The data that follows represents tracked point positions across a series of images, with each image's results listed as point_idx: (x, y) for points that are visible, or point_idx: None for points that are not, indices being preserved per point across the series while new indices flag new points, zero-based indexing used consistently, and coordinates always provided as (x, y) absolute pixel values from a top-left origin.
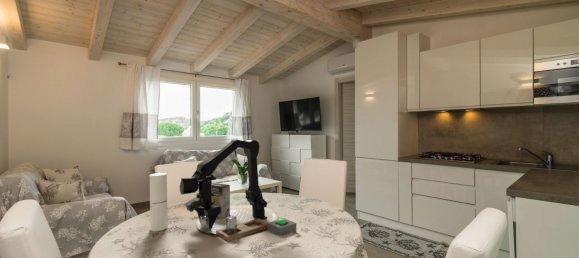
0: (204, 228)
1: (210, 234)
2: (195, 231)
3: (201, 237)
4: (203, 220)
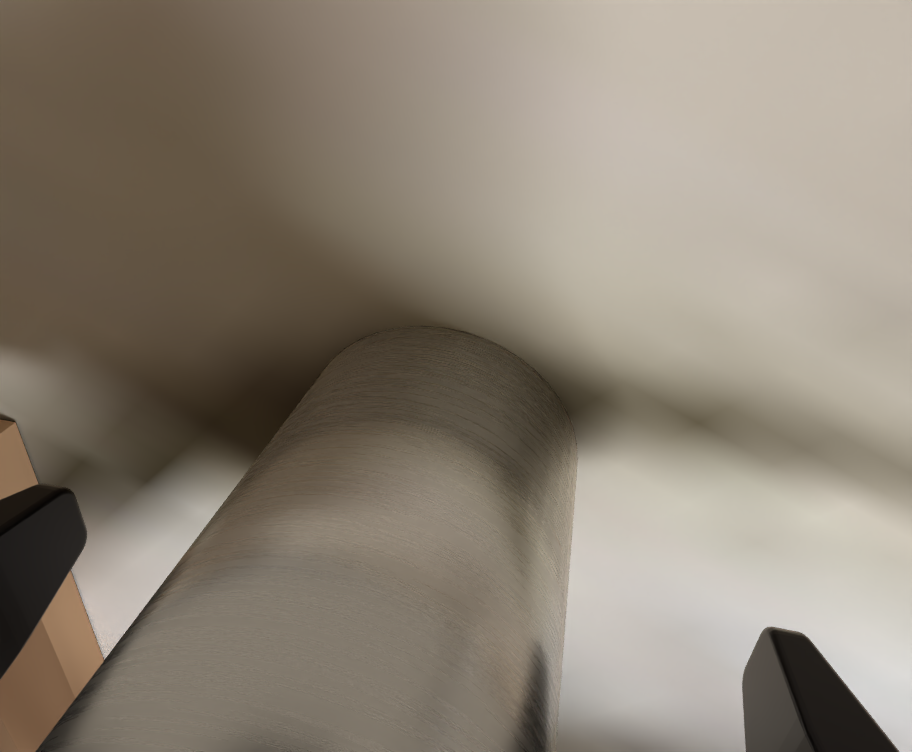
0: (269, 449)
1: (186, 411)
2: (715, 288)
3: (114, 158)
4: (80, 700)
